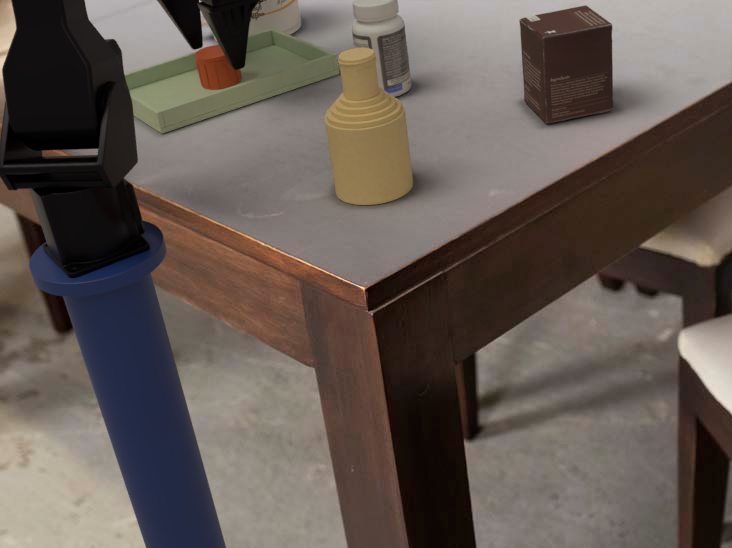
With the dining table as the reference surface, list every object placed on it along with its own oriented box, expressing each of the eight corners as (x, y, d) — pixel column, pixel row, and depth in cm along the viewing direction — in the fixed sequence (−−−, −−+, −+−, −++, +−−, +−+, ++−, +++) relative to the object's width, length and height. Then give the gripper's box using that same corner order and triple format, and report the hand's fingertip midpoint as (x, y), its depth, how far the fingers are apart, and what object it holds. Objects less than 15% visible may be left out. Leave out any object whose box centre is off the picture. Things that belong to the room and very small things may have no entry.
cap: (233, 89, 106) (227, 57, 104) (195, 90, 107) (188, 59, 105) (247, 74, 109) (241, 43, 107) (210, 75, 110) (203, 44, 108)
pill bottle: (413, 79, 104) (403, -12, 99) (409, 97, 100) (399, 3, 95) (363, 83, 104) (351, -7, 100) (357, 102, 100) (344, 8, 96)
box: (614, 112, 91) (614, 23, 87) (544, 126, 91) (541, 37, 87) (589, 88, 96) (587, 3, 92) (522, 101, 96) (518, 16, 92)
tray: (161, 134, 100) (156, 112, 99) (109, 99, 109) (104, 80, 108) (339, 74, 107) (336, 53, 106) (276, 46, 117) (273, 27, 116)
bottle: (377, 212, 82) (358, 73, 76) (319, 195, 85) (297, 61, 79) (429, 180, 85) (415, 45, 79) (371, 165, 89) (354, 35, 83)
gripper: (311, -125, 94) (338, 55, 103) (216, -143, 108) (247, 18, 117) (194, -96, 90) (232, 90, 99) (110, -118, 103) (150, 47, 112)
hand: (217, 58), depth 107 cm, fingers open, 9 cm apart
